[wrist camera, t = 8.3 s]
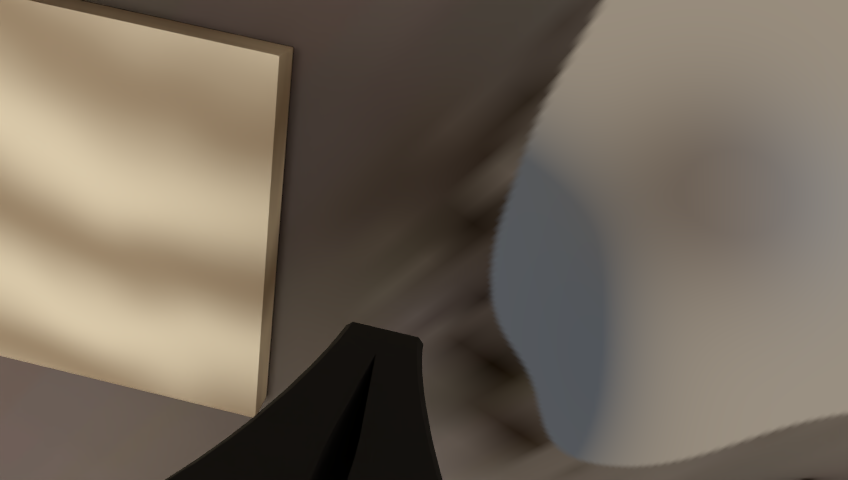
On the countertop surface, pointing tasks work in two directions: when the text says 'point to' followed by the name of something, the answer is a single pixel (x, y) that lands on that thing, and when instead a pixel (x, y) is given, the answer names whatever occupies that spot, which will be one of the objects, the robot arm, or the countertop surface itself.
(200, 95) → the bench board
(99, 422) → the countertop surface
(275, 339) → the countertop surface
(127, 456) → the countertop surface
